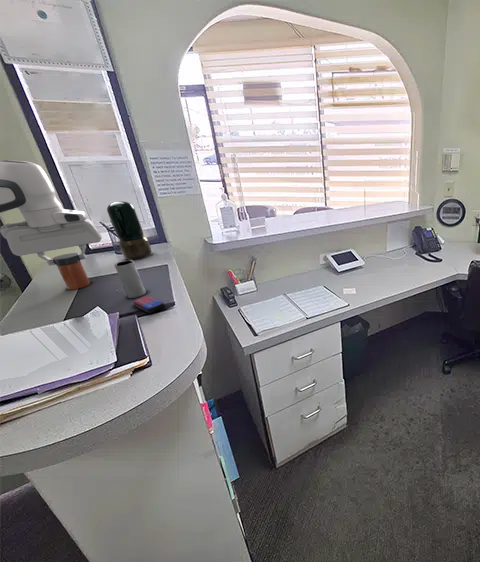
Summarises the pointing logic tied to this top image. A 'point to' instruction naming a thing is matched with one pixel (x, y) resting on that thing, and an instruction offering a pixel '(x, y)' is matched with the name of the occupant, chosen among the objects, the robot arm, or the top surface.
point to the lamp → (128, 230)
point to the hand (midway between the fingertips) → (68, 261)
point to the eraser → (148, 304)
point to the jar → (74, 275)
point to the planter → (130, 278)
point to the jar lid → (66, 259)
